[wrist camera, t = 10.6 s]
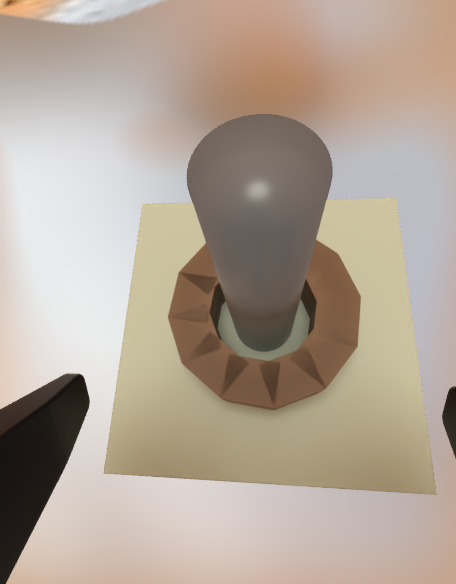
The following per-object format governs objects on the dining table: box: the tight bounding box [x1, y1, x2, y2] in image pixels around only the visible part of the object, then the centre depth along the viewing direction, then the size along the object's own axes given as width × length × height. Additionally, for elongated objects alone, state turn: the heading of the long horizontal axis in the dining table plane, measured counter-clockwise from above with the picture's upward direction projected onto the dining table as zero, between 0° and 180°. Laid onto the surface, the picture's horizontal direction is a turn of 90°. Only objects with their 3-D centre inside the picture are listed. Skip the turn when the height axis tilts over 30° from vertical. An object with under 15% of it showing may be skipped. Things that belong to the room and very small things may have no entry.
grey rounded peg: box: [187, 114, 332, 352], centre depth 14 cm, size 3×3×13 cm
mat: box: [104, 198, 436, 495], centre depth 20 cm, size 16×16×1 cm
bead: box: [168, 240, 361, 410], centre depth 19 cm, size 9×9×3 cm
